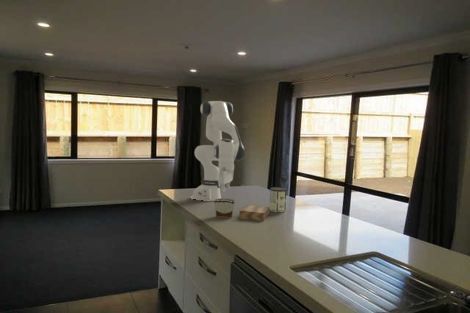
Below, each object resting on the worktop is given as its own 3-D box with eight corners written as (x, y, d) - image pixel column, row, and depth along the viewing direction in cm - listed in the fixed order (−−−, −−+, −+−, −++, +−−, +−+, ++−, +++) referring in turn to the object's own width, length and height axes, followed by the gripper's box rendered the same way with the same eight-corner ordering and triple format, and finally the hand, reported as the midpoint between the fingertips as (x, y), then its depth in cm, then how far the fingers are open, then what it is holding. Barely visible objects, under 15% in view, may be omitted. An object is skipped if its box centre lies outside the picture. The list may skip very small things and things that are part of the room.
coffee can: (275, 207, 228) (276, 186, 227) (288, 210, 221) (289, 188, 220) (266, 210, 220) (267, 188, 219) (279, 213, 213) (280, 190, 212)
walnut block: (239, 219, 197) (239, 210, 197) (246, 212, 212) (247, 205, 212) (263, 221, 193) (263, 213, 193) (269, 215, 208) (269, 207, 208)
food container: (235, 215, 204) (236, 198, 204) (234, 217, 198) (235, 200, 197) (215, 214, 205) (215, 197, 205) (213, 216, 199) (213, 199, 199)
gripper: (226, 168, 189) (226, 193, 190) (235, 165, 209) (234, 188, 209) (215, 168, 190) (215, 192, 191) (225, 165, 210) (224, 187, 211)
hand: (225, 190), depth 200 cm, fingers open, 8 cm apart
